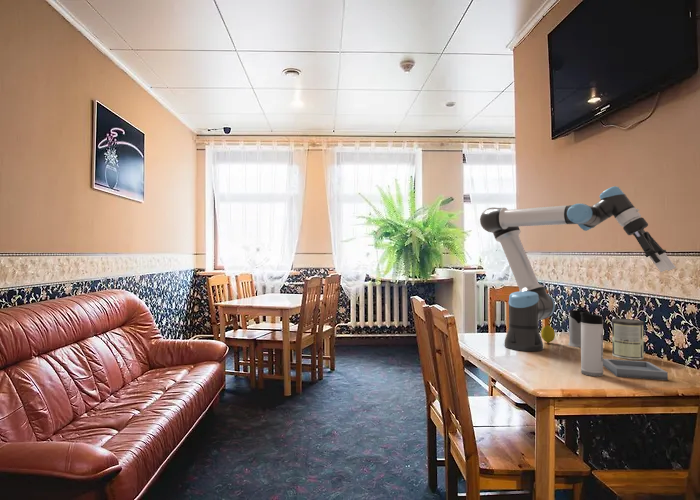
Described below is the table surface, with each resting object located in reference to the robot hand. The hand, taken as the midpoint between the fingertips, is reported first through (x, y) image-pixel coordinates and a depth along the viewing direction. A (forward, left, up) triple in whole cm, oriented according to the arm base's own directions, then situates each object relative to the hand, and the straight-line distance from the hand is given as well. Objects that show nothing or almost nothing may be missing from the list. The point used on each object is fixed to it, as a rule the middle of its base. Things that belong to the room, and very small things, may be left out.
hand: (668, 269), depth 151 cm
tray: (-18, -18, -34) cm, 42 cm away
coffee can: (-11, +8, -34) cm, 37 cm away
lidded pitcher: (-21, +26, -34) cm, 48 cm away
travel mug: (-32, -24, -34) cm, 53 cm away
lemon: (-36, +27, -34) cm, 56 cm away
